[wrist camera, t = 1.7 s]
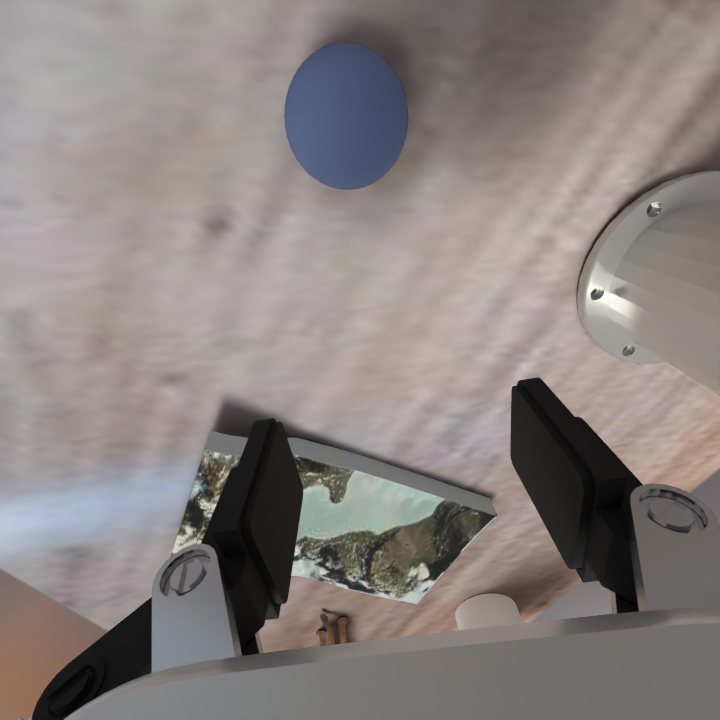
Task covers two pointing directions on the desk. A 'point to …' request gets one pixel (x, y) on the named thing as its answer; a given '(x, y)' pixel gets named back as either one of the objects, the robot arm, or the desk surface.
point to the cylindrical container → (487, 612)
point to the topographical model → (354, 518)
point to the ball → (346, 116)
